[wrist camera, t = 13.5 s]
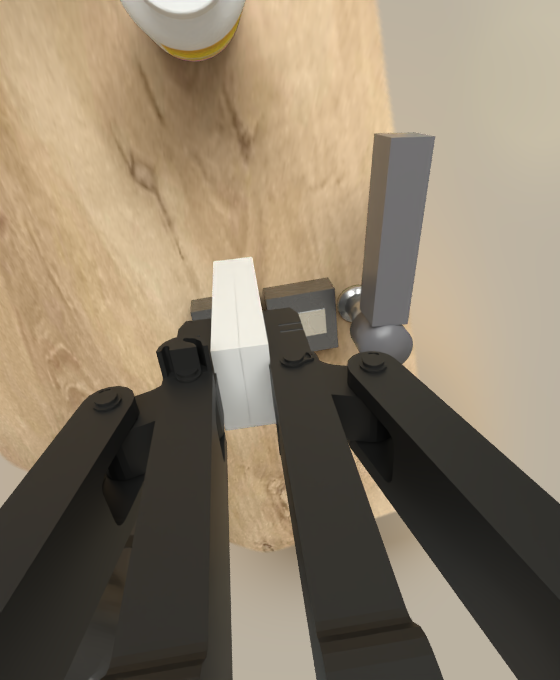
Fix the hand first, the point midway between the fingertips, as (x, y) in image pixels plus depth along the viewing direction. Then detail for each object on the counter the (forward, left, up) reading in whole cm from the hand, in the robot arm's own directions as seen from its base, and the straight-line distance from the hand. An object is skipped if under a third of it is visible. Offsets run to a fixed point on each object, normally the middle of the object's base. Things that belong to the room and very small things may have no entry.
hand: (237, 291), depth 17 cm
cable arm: (+11, -5, -15) cm, 20 cm away
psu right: (+5, -12, -20) cm, 24 cm away
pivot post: (+10, -12, -20) cm, 26 cm away
